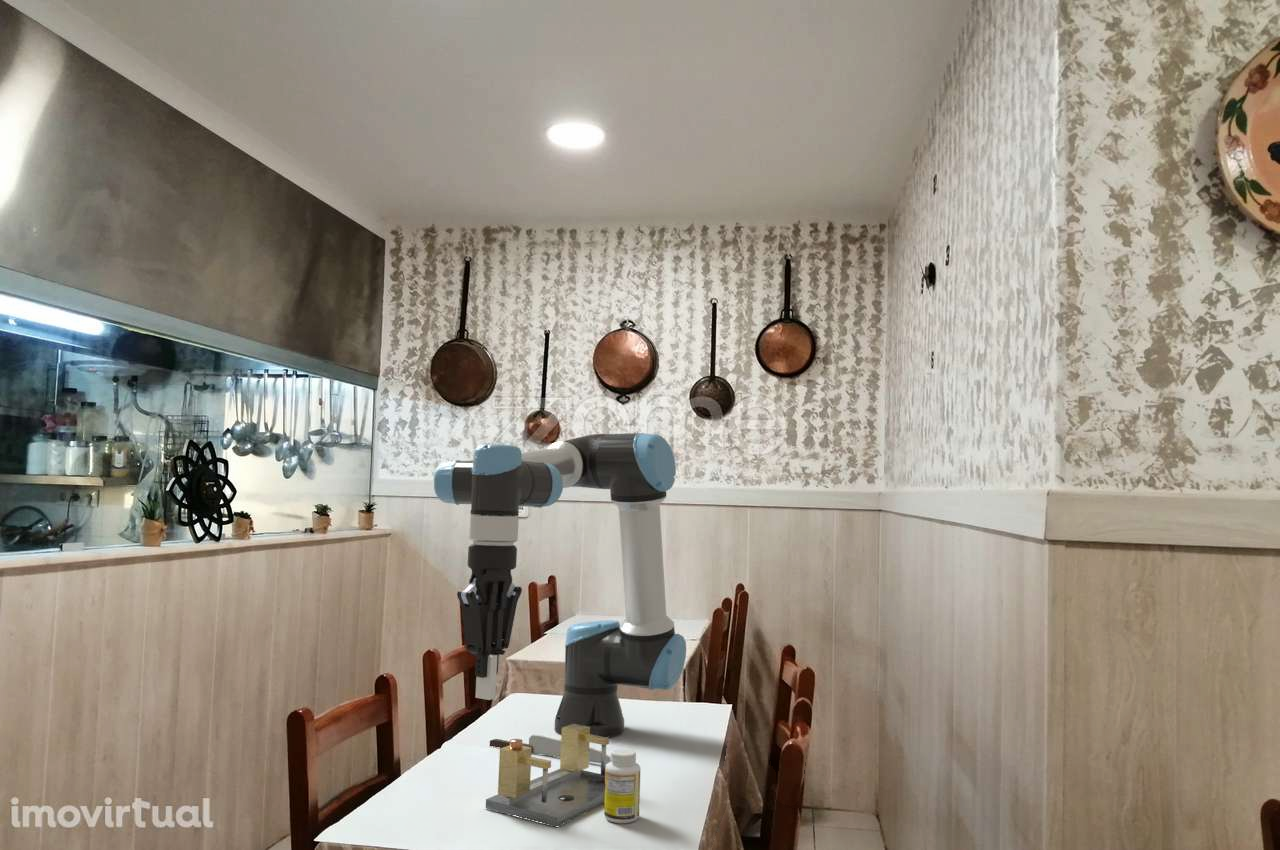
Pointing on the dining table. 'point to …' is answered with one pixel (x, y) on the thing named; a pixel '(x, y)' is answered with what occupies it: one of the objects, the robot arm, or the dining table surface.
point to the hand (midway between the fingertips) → (485, 697)
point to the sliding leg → (519, 770)
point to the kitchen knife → (549, 747)
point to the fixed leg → (579, 748)
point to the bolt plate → (555, 797)
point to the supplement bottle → (622, 787)
